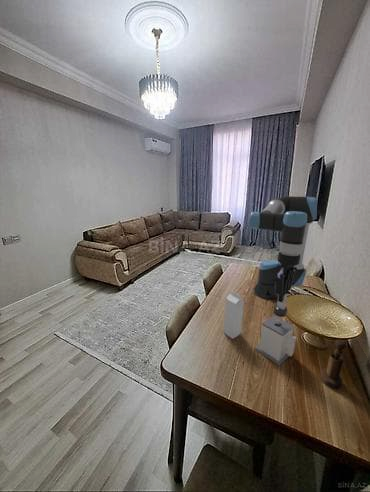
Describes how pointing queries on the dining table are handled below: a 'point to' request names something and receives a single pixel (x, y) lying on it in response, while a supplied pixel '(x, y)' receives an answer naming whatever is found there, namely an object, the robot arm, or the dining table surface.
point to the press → (276, 340)
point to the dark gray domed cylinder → (279, 313)
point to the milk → (233, 315)
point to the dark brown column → (334, 367)
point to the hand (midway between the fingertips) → (280, 307)
